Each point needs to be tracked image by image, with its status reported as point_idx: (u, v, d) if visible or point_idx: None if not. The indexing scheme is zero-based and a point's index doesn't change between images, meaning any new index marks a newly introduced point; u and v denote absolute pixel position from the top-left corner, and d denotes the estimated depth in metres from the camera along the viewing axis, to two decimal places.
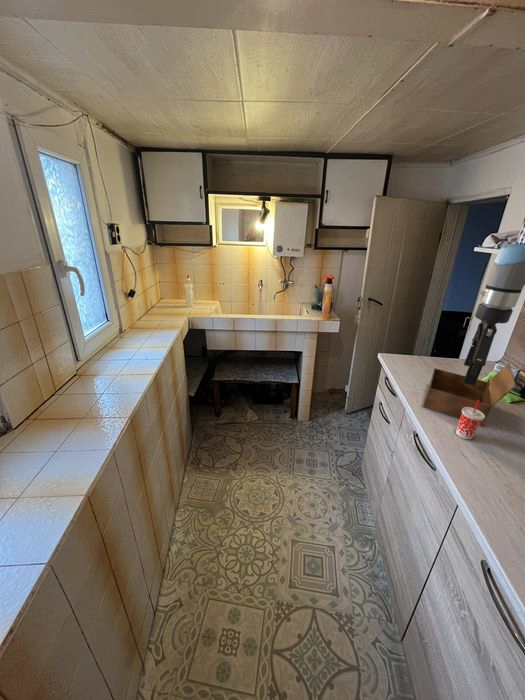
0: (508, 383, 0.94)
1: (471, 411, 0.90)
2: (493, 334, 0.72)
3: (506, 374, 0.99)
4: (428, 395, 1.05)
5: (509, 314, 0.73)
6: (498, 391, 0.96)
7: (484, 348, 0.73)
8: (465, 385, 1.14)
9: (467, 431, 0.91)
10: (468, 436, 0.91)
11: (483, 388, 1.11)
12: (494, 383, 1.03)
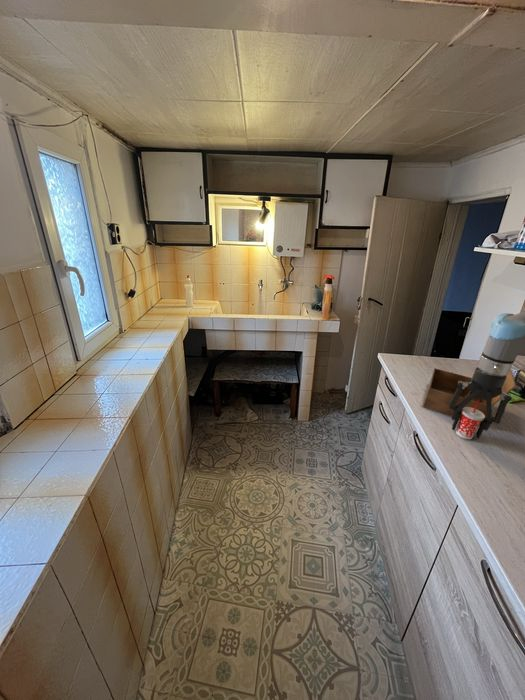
0: (508, 383, 0.94)
1: (471, 411, 0.90)
2: None
3: None
4: (428, 395, 1.05)
5: None
6: None
7: None
8: None
9: (467, 431, 0.91)
10: (468, 436, 0.91)
11: None
12: None
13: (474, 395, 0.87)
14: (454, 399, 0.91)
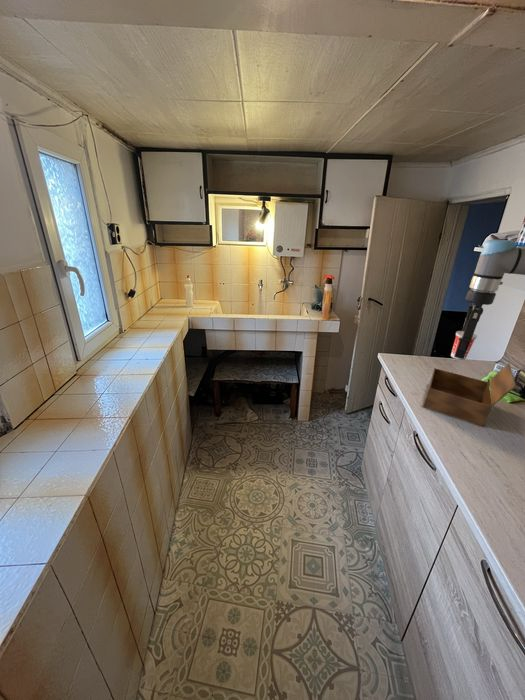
0: (508, 383, 0.94)
1: None
2: None
3: (506, 374, 0.99)
4: (428, 395, 1.05)
5: None
6: (498, 391, 0.96)
7: None
8: (465, 385, 1.14)
9: None
10: None
11: (483, 388, 1.11)
12: (494, 383, 1.03)
13: (479, 317, 0.93)
14: None
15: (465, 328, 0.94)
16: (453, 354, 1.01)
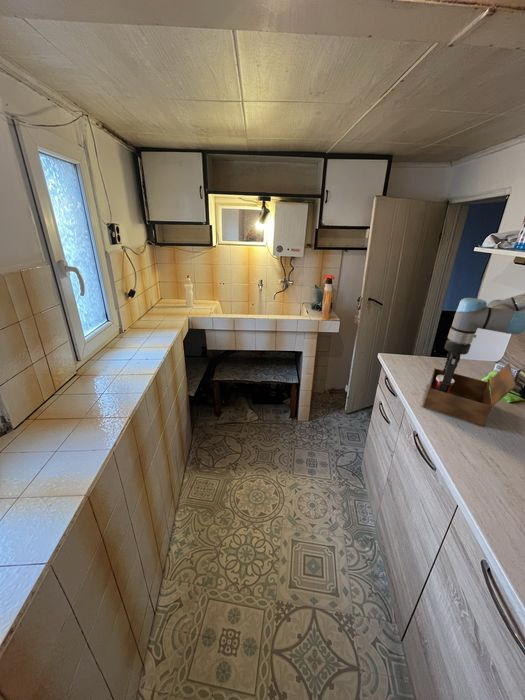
0: (508, 383, 0.94)
1: None
2: None
3: (506, 374, 0.99)
4: (428, 395, 1.05)
5: None
6: (498, 391, 0.96)
7: None
8: (465, 385, 1.14)
9: None
10: None
11: (483, 388, 1.11)
12: (494, 383, 1.03)
13: None
14: (452, 376, 1.00)
15: (445, 372, 1.03)
16: None
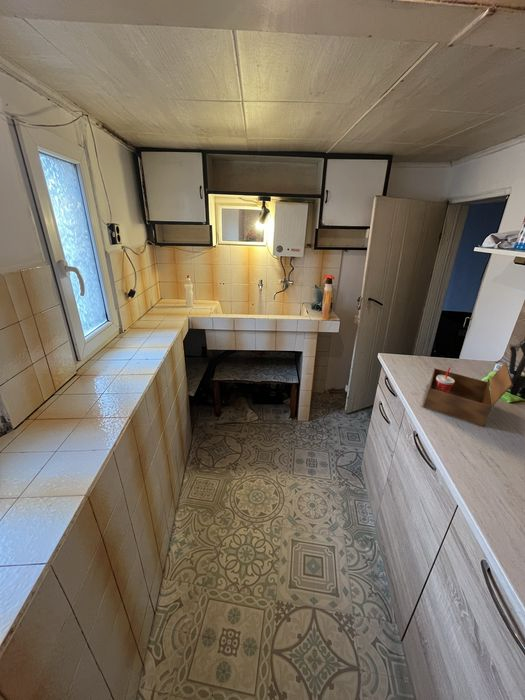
0: (505, 382, 0.94)
1: (445, 378, 1.08)
2: None
3: (503, 373, 1.00)
4: (428, 395, 1.05)
5: None
6: (497, 390, 0.96)
7: None
8: (465, 385, 1.14)
9: None
10: None
11: (483, 388, 1.11)
12: (493, 383, 1.03)
13: None
14: (512, 363, 0.94)
15: (519, 363, 0.95)
16: None
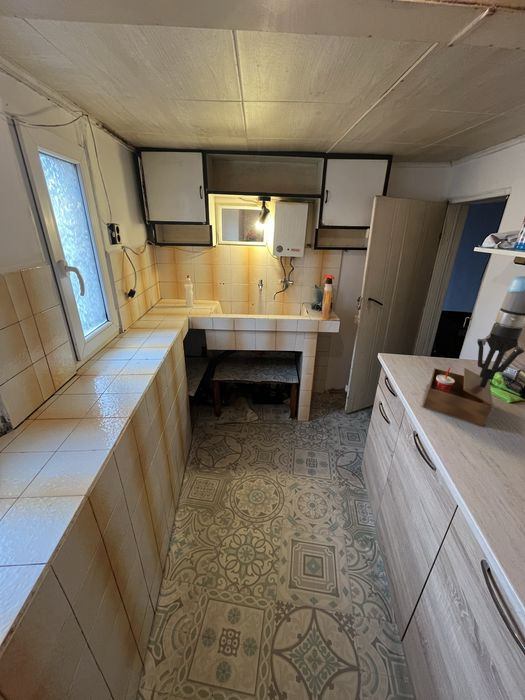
0: None
1: (445, 378, 1.08)
2: None
3: None
4: (428, 395, 1.05)
5: None
6: None
7: None
8: None
9: None
10: None
11: None
12: None
13: (494, 349, 0.95)
14: (479, 357, 0.99)
15: None
16: None
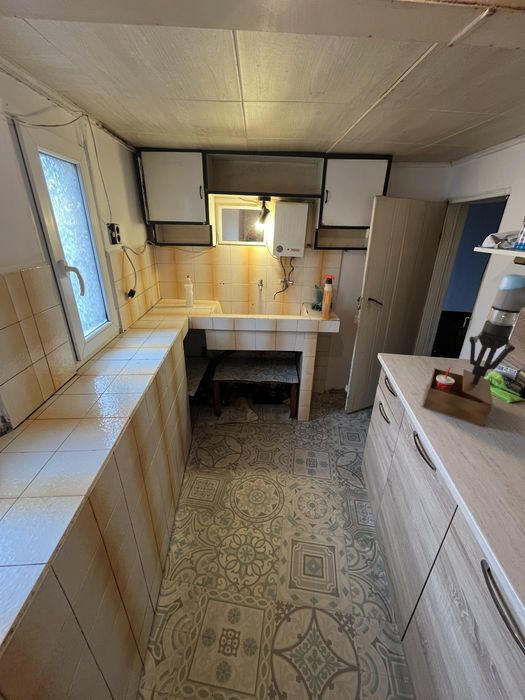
0: None
1: (445, 378, 1.08)
2: None
3: None
4: (428, 395, 1.05)
5: None
6: None
7: None
8: None
9: None
10: None
11: None
12: None
13: (486, 346, 0.97)
14: (471, 354, 1.00)
15: None
16: None
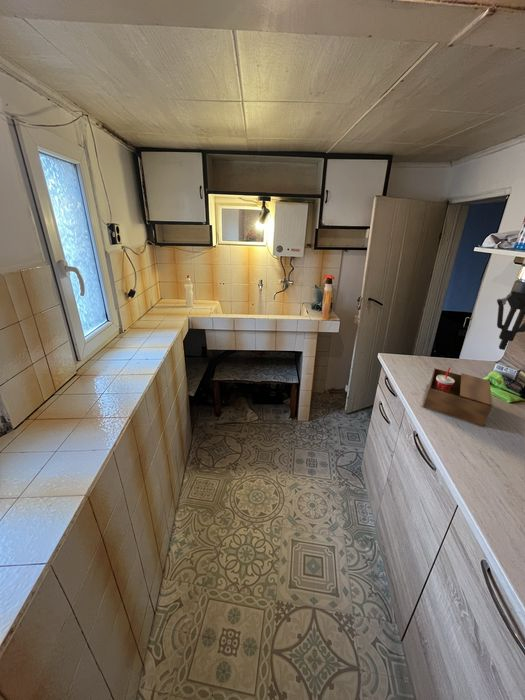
0: None
1: (445, 378, 1.08)
2: None
3: None
4: (428, 395, 1.05)
5: None
6: None
7: None
8: None
9: None
10: None
11: None
12: None
13: (515, 307, 0.93)
14: (499, 317, 0.96)
15: None
16: None
